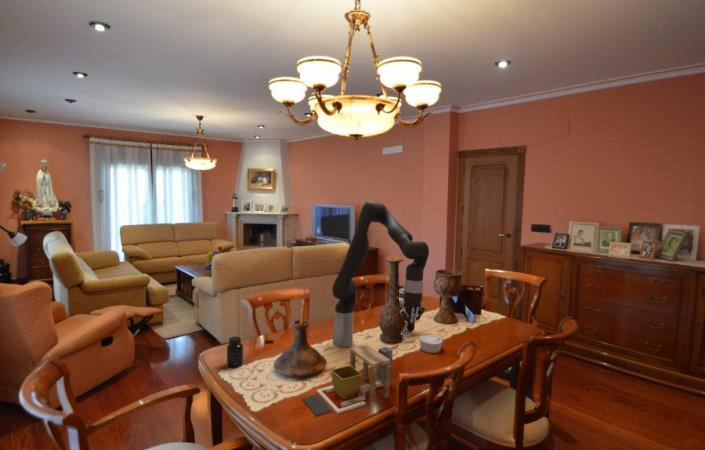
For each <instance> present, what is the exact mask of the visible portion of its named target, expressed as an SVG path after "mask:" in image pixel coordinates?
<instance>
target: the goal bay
mask: <svg viewBox="0 0 705 450" xmlns="http://www.w3.org/2000/svg"><path fill="white" fill-rule="evenodd" d="M331 387H334V386H333V384H332V385H329V386H326V387H322V388H318V389H316V393H317V395H318V396H319V397H320V398H321V399H322V400H323V401H324V402H325V403H326V404H327V405H328V407H329V406H330V407H329V408H330V409H331V410H332V411H334V412H335V413H336V414H337V415H338V414H342V413H344V412H347V411H350V410H353V409H357V408H361V407H363V406H365V405H366V401H364V400H362V401H359V402H356V403H353V404H349V405H346V406H343V407H341V408H338V406H337V405H336V404H334V402H333V401H331V399H330V398H329V397H328V396H327V395H326V394H325V393H324V392H327V389H328V388H331Z"/></svg>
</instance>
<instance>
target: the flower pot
mask: <svg viewBox="0 0 705 450" xmlns="http://www.w3.org/2000/svg"><path fill="white" fill-rule="evenodd" d="M330 372H331V380H332V385H333V386H334V389H335V391H334V392H336V394H337V395H338V396H339V397H340V398H341V399H343V400H344V399H348V398H352V397H354V396H356V395H357V394H356V393H357V392H358V390H359V387H360V386H361V383H362V378H363V373H361V372H360V371H359V370H357V369H356V367H355V368H353V367H352V366H351V365H350V364H349V365H344V366H341V367H337V368H332V369H331V370H330Z"/></svg>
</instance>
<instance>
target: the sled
mask: <svg viewBox="0 0 705 450" xmlns="http://www.w3.org/2000/svg"><path fill="white" fill-rule="evenodd" d="M378 352H379V353H381V354H382V355H384V356H386V357H387V358H389V359H390V383H392V382H393V381H392V379H393V354H394V353H393V352H394V351H393V350H392V349H391V348H389V347H388V346H383V347H380V348H378ZM382 387H384V365H380V366H377V380H376V389H378V388H382ZM368 391H369V392H370V383H367V384H363V385H360V387H359V390H358V392H357V393H356V394H355V395H357V396H358V397H355V398H350V399H347V400H345V401H342V402H340V407H341V408H343V407H347V406H350V405H353V404H356V403H359V402H362V401H364V400H366V392H368ZM331 392H336V391H335V389H334V387H331V388H328V389H327V391H326V393H331Z"/></svg>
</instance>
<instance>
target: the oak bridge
mask: <svg viewBox="0 0 705 450" xmlns="http://www.w3.org/2000/svg"><path fill="white" fill-rule="evenodd" d="M349 352H350V355H349V365H351V366H352V367H353V368H355V369H356V360H357V357H358V358H359V359H360V360H362V366H363V367H362V380H363V381H365V382H366V381H369V384H370V390H369V394H368V395H369V399H368V400H369V402H371V403H374V402H376V393H377V391H376V389H377V388H376V381H377V368H378V366H380V365H384V386H383V392H382V394H383V395H382V396H383V397H384V398H389V397H390V385H391V382H390V359H389V358H387V357H386V356H384V355H382V354H381V353H379V350H376V349H375V348H373V347H372V346H370V345H369V344H364V345H359V346H355V347H351V348H350V349H349ZM369 367H370V368H369Z"/></svg>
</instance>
